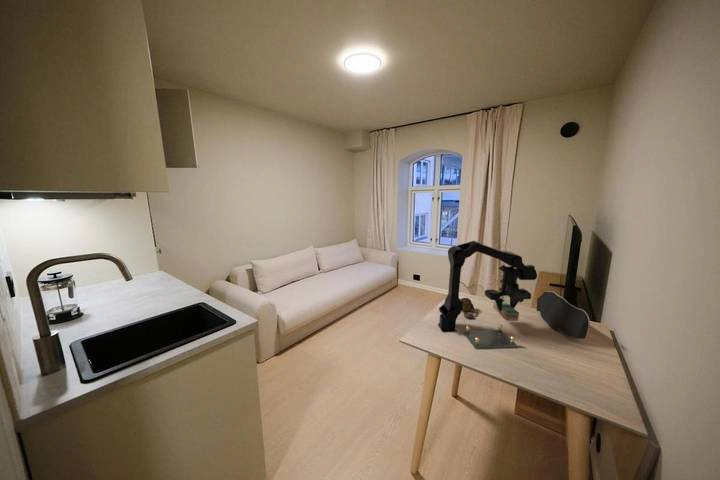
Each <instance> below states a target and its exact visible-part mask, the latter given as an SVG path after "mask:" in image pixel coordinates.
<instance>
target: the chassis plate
mask: <svg viewBox="0 0 720 480" xmlns="http://www.w3.org/2000/svg"><path fill="white" fill-rule="evenodd" d="M470 329H471V326H470V325H466V326H465V330H463V332H462V333H463V335H464V336H465V337H466V339H467V340H468V341H469V342H470V344H471V346H473V348H474V349H475V350H477V349H478V350H482V349H483V350H484V349H507V348H508V349H510V348H512V349H513V348H514V349H515V348H517V346H518V345H517V344H516V336H514V335H510V337H509V336H508V335H507V333H505V332H504V331H503V329H504V328H503V325H502V324H498V327H497V329H480V330H479V329H477V330H472V329H471V330H470Z"/></svg>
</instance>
